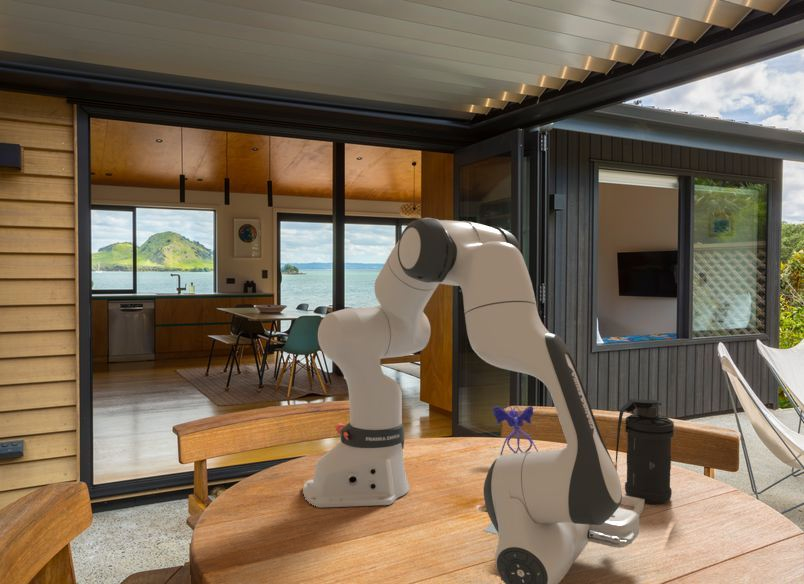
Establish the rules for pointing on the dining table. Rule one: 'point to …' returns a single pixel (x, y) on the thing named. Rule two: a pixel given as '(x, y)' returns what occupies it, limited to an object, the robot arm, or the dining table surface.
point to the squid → (514, 423)
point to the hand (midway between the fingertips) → (583, 499)
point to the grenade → (647, 451)
